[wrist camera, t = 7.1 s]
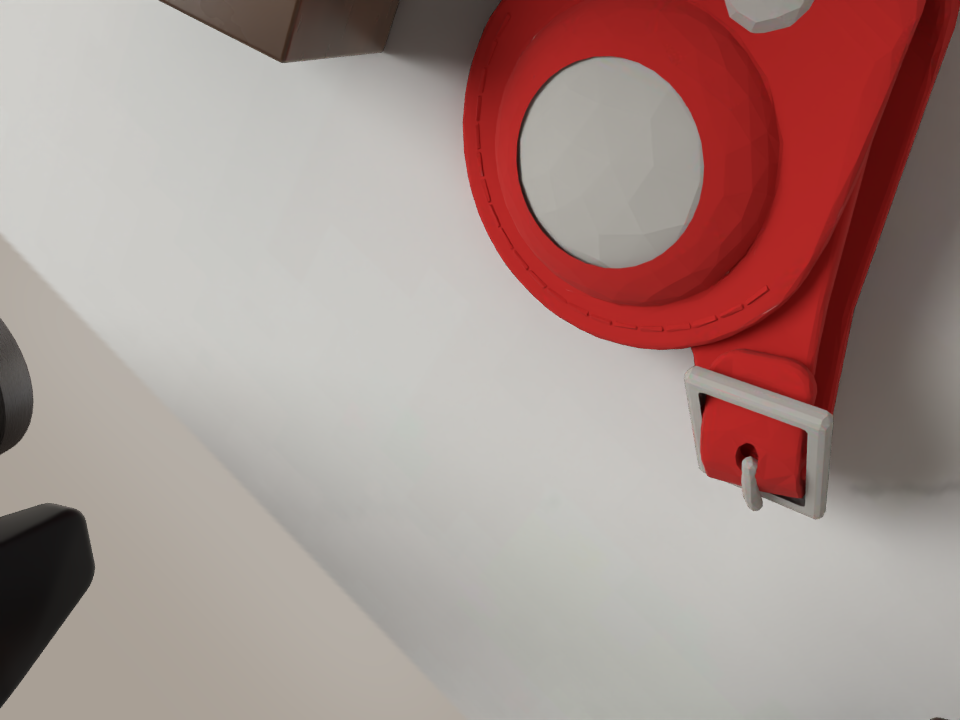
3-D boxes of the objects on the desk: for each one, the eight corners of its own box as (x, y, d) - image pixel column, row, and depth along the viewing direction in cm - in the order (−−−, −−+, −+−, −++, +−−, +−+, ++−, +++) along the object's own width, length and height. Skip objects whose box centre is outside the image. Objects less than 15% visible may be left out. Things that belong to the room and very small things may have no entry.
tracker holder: (364, 175, 18) (640, -323, 11) (480, 142, 21) (747, -260, 14) (733, 599, 16) (1320, 310, 10) (798, 495, 19) (1272, 223, 13)
